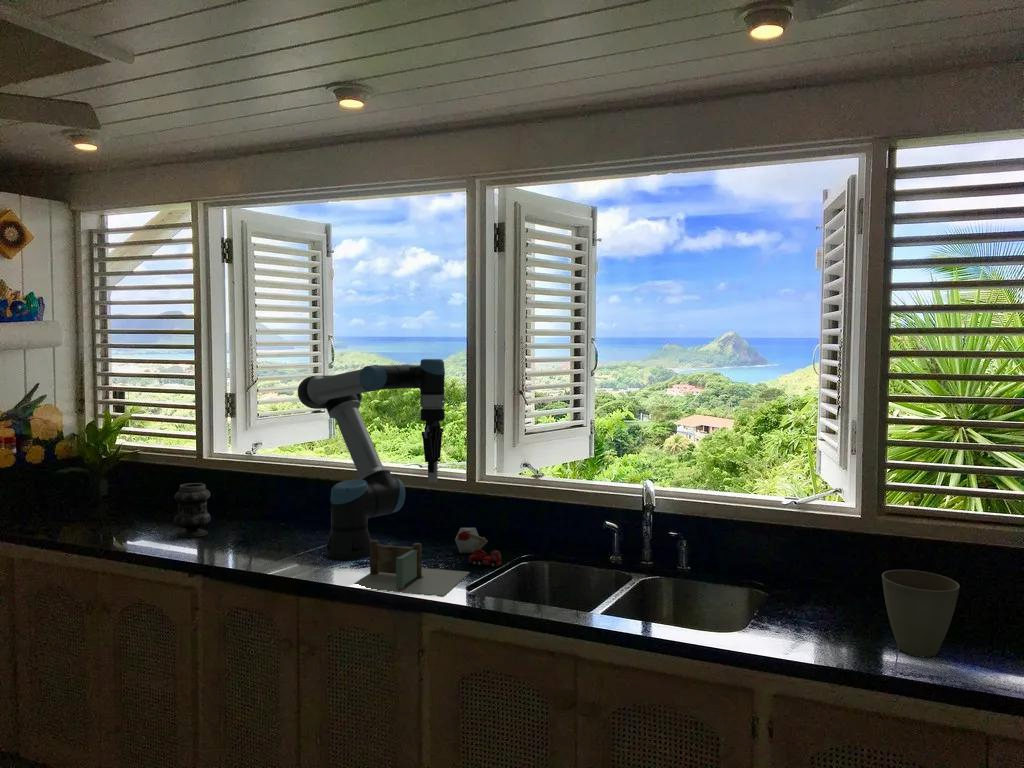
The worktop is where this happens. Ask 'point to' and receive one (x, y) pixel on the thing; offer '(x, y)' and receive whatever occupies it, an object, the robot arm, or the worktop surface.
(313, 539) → the worktop surface
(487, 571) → the worktop surface
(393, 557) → the base
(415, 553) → the green rectangular block
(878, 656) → the worktop surface
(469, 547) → the die
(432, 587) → the card
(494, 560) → the toy fire truck
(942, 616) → the plant pot
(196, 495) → the dark grey urn vase
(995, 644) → the worktop surface
